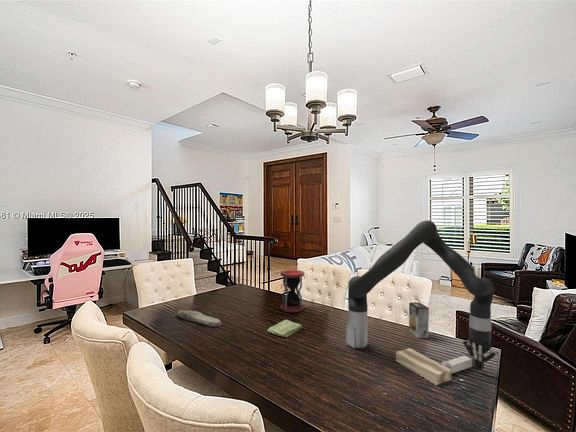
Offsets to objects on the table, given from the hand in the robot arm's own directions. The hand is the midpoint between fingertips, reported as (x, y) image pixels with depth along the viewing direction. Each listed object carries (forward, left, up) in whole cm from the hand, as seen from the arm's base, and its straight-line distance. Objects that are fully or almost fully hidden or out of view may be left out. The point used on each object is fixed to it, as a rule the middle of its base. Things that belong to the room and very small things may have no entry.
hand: (479, 369), depth 117 cm
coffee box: (+9, +37, -2) cm, 38 cm away
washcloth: (-55, +71, -2) cm, 90 cm away
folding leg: (-6, +5, -1) cm, 8 cm away
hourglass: (-35, +103, -2) cm, 109 cm away
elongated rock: (-97, +106, -2) cm, 144 cm away
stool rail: (-20, +11, -1) cm, 23 cm away
